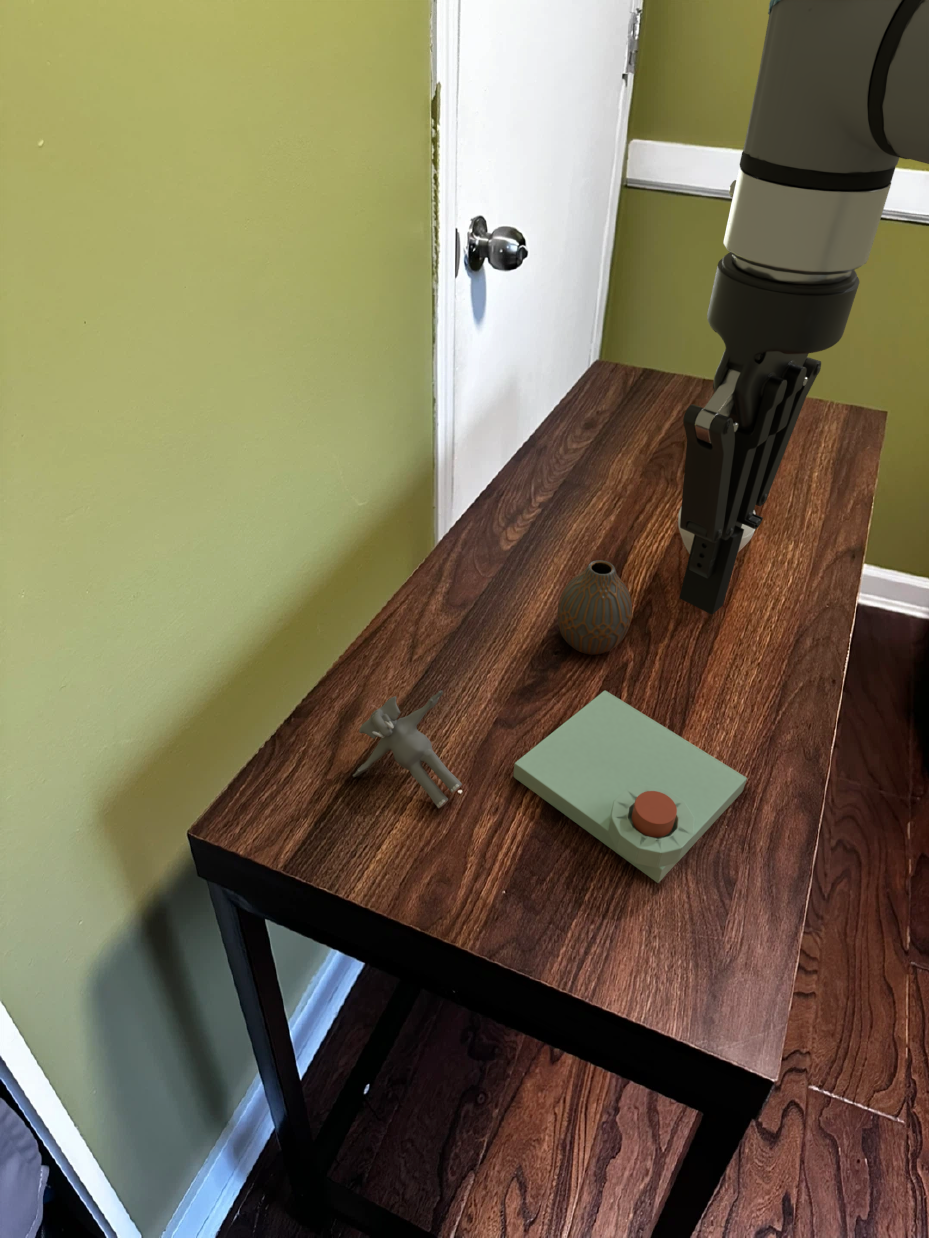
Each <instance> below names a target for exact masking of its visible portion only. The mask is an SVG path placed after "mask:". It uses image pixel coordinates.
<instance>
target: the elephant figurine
mask: <svg viewBox="0 0 929 1238" xmlns="http://www.w3.org/2000/svg"><path fill="white" fill-rule="evenodd" d="M443 694H444V692H443V690H438V691H437V693H436V694H434V695H432V696H431V697H430V698H428V701H427V702H426V704H424V706H422V707H420V708H418V709H416V710H414V711H413V712H411V713H410V714H408V715H406V716H403V717H400V718H398V717H399V715H401V711H400V708H399V706H398V703H397V697H398V696H397V695H395V696H392V697H390V698H389V699H387V700H386V701H385V702H384V704H383V705H381V707H379V708H377V709H375V710H374V711H373V712H372V713H371V714H370V716H369V718H368V719H367V720H366V721H365V722H363V723H362V724H361V726H360V727H359V730H358V733H360V734H365V735H367V736H368V737H370V738H371V739H372V740H375V738H377V737H379V738H380V740H379V742H378V743H377V745H376V747H375V748H374V750H373V751H372V753H371V754H370V756H369V757H368V758H367V760H366V761H365V762H364V763H362V764H361V765H360V766H359V767H358V768H357V770H356V771H355V772H354V773H353V774H352V777H353V778H357V777H359V776H360V775H361V774H362V773H365V772H367V771H368V770H369V769H370V768H371V767H372V766H373V764H375V763H376V762H377V761H379V760H380V759H382V758H383V757H384V756H385V755H386V754H387V753H388V752H389V751H392V753H393V758H394V761H395V762H396V763H397V764H398V765H399V766H400V767H402V768H403V769H405V770H407V771H409V773H410V774H411V776H412V778H413V779H414V780H415V781H416V782H417V783H418V784H419V786H421V788H422V789H423V790H424V791H425V792H426V794H427V795H428V797H429V798H430V799H431V801H432V802H433V804H434V805H435V806H436V807H437V809H440V808H441V807H443V806H444V805H445V804H447V802H448V801H449V798H448V797H447V796H446V795H445V794H444V793H443V791H442V790H441V789H440V787H439V786H438V785H437V783H436V782H435V781H434V780H433V778H432V777H431V775H429V774H428V772H427V771H426V770H425V768H424V767H423V763H426V765H427V767H429V768H430V769H431V770H432V772H434V774H435V775H436V776H437V777H438V778H439V779H440V781H441V782H442V783H443V784H444V785H445V786H446V788H447V789H448V790H449V792H450V793H451V794H453V793H455V792H457V791H458V790H459V789H460V788H461V787H462V786H463V783H462V782H461V781H460V780H459V779H458V778H457V776H455V775H454V774H453V773H452V772H451V771H450V770H449V769H448V768H447V766H446V765H445V763H443V761H442V760H441V758H440V757H439V756H438V755H437V753H436V752H435V751H434V750H433V744H432V741H431V740H430V739H429V738H428V736H427V735H426V734H424V733H423V732H422V731H419V730H418V728H417V726H418V724H420V722H421V721H422V719H423V718H424V716H425V715H426V714H427V713H428V711H430V710H431V709H433V708H434V707H435V706H436V705H437V704H438V702H439V700H440V698H441V697H442V696H443Z"/></svg>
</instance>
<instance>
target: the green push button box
mask: <svg viewBox="0 0 929 1238" xmlns="http://www.w3.org/2000/svg"><path fill="white" fill-rule="evenodd" d="M512 777H513V778H514V779H515V780H516V781H518V782H520V783H521V784H522V785H524V786H525V787H526V788H528V789H529V790H530V791H532V792H533V793H534V794H536V795H537V796H538V797H540V798H541V799H543V800H544V801H545V802H547V803H548V804H549V805H550V806H551V807H553V808H555V809H556V810H557V811H559V812H561V814H563V815H565V816H566V817H567V818H568V819H569V820H571V821H572V822H574V823H576V825H578V826H579V827H581V828H582V829H583V830H585V831H586V832H587V833H588V834H590V835H592V837H594V838H596V839H597V840H598V841H600V842H601V843H603V844H604V846H607V847H608V848H610V849H611V850H612V851H613V852H615V854H617V855H619V856H620V857H621V858H623V859H624V860H625V861H626V862H628V863H630V864H631V865H632V866H634V867H635V868H636V869H638V870H639V871H641V872H642V873H643V874H645V875H646V876H647V877H649V878H650V879H651V880H653V881H654V882H655V883H657V884H659V883H660V882H661V881H662V880H663V879H664V878H665V877H666V876H667V874H668V873H669V872H670V871H671V870H672V869H673V868H674V867H675V866H676V865H677V864H678V863H679V862H680V860H682V858H683V857H684V856H685V855H686V854H687V853H688V852H689V850H691V848H693V846H694V845H695V844H696V843H697V842H698V841H699V840H700V838H702V836H703V835H704V834H705V833H706V832H707V831H708V830H709V829H710V828H711V826H713V825H714V823H715V822H716V821H717V820H718V819H719V818H720V817H721V816H722V815H723V814H724V813H725V811H727V809H728V808H729V807H730V806H731V805H732V803H734V802H735V800H736V799H737V798H738V797H739V796H740V795H741V794H742V793H743V791H744V789H745V785H746V783H747V780H748V777H746V776H745V775H743V774H741V773H740V772H738V771H737V770H735V769H734V768H732V767H731V766H729V765H727V764H725V763H724V762H722V761H721V760H719V759H717V758H716V757H714V756H713V755H711V754H709V753H707V752H706V751H704V750H703V749H701V748H699V747H698V746H696V745H695V744H693V743H691V742H689V741H688V740H686V739H685V738H683V737H682V736H680V735H678V734H676V733H675V732H674V731H672V730H671V729H669V728H668V727H665V726H664V725H662V724H660V723H659V722H657V721H656V720H654V719H652V718H651V717H649V716H647V715H646V714H644V713H643V712H641V711H639V710H638V709H636V708H634V707H633V706H632V705H630V704H628V703H627V702H625V701H624V700H622V699H620V698H619V697H617V696H615V695H614V694H612V693H610V692H609V691H607V690H603V691H602V692H600V694H598V695H597V696H596V697H595V698H593V699H592V700H591V701H589V702H588V703H587V704H585V706H583V707H582V708H581V709H580V710H578V711H577V712H575V714H573V715H572V716H571V717H569V718H568V719H567V720H566V721H565V722H563V723H562V724H561V725H560V726H558V728H556V729H555V730H554V731H553V732H551V733H550V734H549V735H547V736H546V737H545V738H544V739H542V740H541V741H540V742H538V744H536V745H535V746H534V747H532V749H529V751H528V752H526V753H525V754H524V755H522V756H521V757H520V758H519V759H518V760H517V761H515V762H514V764H513V776H512ZM647 791H657V792H661V793H663V794H665V795H667V796H668V797H670V798H671V799H672V800H673V802H674V803H675V805H676V808H677V814H676V818H675V821H674V825H673V828H672V830H671V831H670V832H669V833H668V834H667V835H665V836H663V837H649V836H646V835H644V834H642V833H641V832H639V831H638V830H637V829H636V828H635V826H634V825H633V822H632V812H633V808H634V804H635V800H636V798H637V797H638V796H639V795H640V794H641V793H644V792H647Z"/></svg>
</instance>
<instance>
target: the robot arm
mask: <svg viewBox="0 0 929 1238" xmlns="http://www.w3.org/2000/svg"><path fill="white" fill-rule="evenodd" d="M767 15H768V18H767V19H768V20H767V26H766V30H765V36H764V42H763V48H762V51H761V52H762V53H761V59H760V64H759V70H758V74H757V80H756V85H755V90H754V94H753V100H752V105H751V110H750V114H749V120H748V125H747V130H746V135H745V140H744V144H743V148H742V151H741V156H740V161H739V168H738V172H737V177H736V179H734V180H733V181H732V182H731V184H730V185H729V188H728V196H729V197H730V198H731V199H732V200H731V204H730V209H729V214H728V219H727V223H726V228H725V233H724V238H723V245H724V247H725V249H726V251H727V252H728V253H726V254H725V255H724V256H722V258H721V259H720V260H718V262H717V266H716V271H715V276H714V280H713V285H712V289H711V295H710V299H709V304H708V309H707V312H706V313H707V314H706V318H707V322H708V325H709V327H710V328H711V329H712V331H713V332H715V333H716V334H718V336H719V337H720V338H721V340H722V341H723V343H724V346H725V349H724V351H723V353H722V356H721V359H720V362H719V363H718V365H717V368H716V370H715V373H714V376H713V382H712V389H713V392H714V393H713V394H712V396H711V397H710V399H708V402H707V403H706V404H705V406H704V407H702V406H699V405H696V404H690V405H689V406H688V407H687V409H686V410H685V412H684V414H683V420H682V421H683V427H684V431H685V436H686V447H685V461H684V470H683V471H684V472H683V482H682V483H683V484H682V496H681V506H680V508H681V518H680V528H681V529H684V530H686V531H688V532H690V533H692V534H694V539H693V543H692V547H691V551H690V554H689V555H688V560H687V564H686V567H685V571H684V577H683V582H682V584H681V589H680V593H679V597H678V599H679V600H681V601H684V602H686V603H687V604H690V605H691V606H694V607H696V608H698V609H699V610H702V611H704V612H705V613H708V614H709V615H712V616H713V615H714V614H715V613H717V612H718V611H719V610H720V609H721V608H722V607H723V606H724V603H725V599H726V595H727V592H728V589H729V585H730V581H731V578H732V574H733V570H734V568H735V564H736V560H737V557H738V553H739V552H738V550H739V547H740V543H741V539H742V536H743V532H744V529H742V528H741V527H742V524H744V525H746V526H748V527H751V528H753V529H755V530H757V529H758V528H759V527H760V525H761V524H762V522H763V520H764V517H763V516H760V515H758V514H756V513H755V514H754V513H753V512H754V511H755V508H756V506H758V507H762V506H764V505H765V503H766V502H767V500H768V497H769V494H770V491H771V489H772V485H773V483H774V482H775V481H774V480H775V478H776V476H777V474H778V470H779V468H780V466H781V463H782V460H783V458H784V455H785V452H786V450H787V447H788V444H789V442H790V440H791V437H792V434H793V432H794V429H795V427H796V424H797V422H798V419H799V418H800V417H799V416H800V415H801V411H802V409H803V406H804V403H805V401H806V398H807V397H808V395H809V393H810V391H811V388H812V387H813V384H814V383H815V380H816V379H817V377H818V376H819V374H820V372H821V367H822V361H821V360H819V359H815V358H812V357H809V355H810V354H815V353H818V352H819V353H820V352H822V351H826V350H827V349H830V348H832V347H834V346H835V345H836V344H838V343H839V342H840V340H841V339H842V337H844V336H843V335H844V332H845V330H846V327H847V324H848V321H849V317H850V314H851V310H852V307H853V304H854V301H855V298H856V295H857V293H858V290H859V289H858V288H859V285H860V278H859V277H858V274H857V272H856V271H855V270H858V269H859V268H861V267H863V266H865V265H866V264H867V262H868V260H869V257H870V254H871V251H872V247H873V245H874V242H875V238H876V234H877V232H878V228H879V225H880V221H881V218H882V216H883V212H884V209H885V205H886V202H887V200H888V195H889V192H890V189H891V186H892V181H893V177H894V174H895V170H896V167H897V165H898V163H899V161H900V159H903V160H912V161H916V162H919V163H923V164H927V165H929V0H770V1H769V3H768V12H767Z"/></svg>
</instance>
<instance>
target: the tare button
mask: <svg viewBox="0 0 929 1238" xmlns="http://www.w3.org/2000/svg"><path fill="white" fill-rule="evenodd" d="M676 814H677V808H676V805H675V803H674V802H673V800H672V799H671V798H670V797H668V796H667V795H665V794H663V793H661V792H657V791H647V792H644V793H641V794H640V795H639V796H638V797H637V798H636V800H635V804H634V808H633V812H632V822H633V825H634V826H635V828H636V829H637V830H638V831H639V832H641V833H642V834H644V835H646V836H649V837H663V836H665V835H667V834H668V833H669V832H670V831H671V830H672V828H673V825H674V821H675V818H676Z"/></svg>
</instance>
